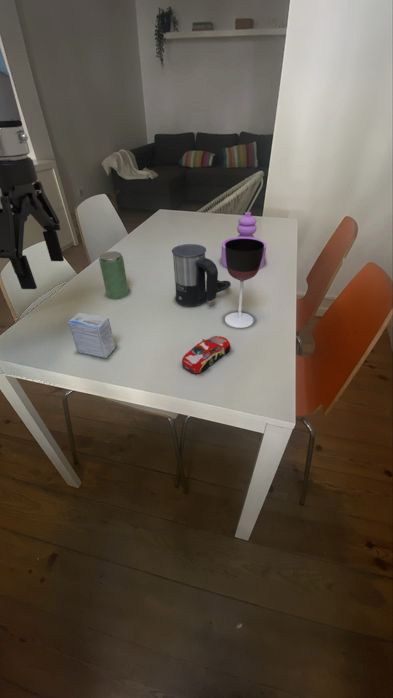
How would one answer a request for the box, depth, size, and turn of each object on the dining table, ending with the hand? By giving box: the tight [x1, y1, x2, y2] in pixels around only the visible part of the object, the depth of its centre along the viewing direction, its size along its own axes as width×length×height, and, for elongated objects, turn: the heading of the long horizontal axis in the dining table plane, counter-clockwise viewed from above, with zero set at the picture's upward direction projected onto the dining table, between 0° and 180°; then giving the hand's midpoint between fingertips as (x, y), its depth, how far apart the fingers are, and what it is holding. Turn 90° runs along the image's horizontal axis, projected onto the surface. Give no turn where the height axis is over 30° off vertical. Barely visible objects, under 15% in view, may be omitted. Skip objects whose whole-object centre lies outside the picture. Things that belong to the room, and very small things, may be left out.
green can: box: [98, 250, 130, 300], centre depth 93 cm, size 7×7×12 cm
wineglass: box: [224, 239, 264, 329], centre depth 78 cm, size 8×9×20 cm
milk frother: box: [171, 243, 232, 307], centre depth 90 cm, size 14×16×15 cm
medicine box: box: [67, 312, 116, 359], centre depth 72 cm, size 8×4×9 cm, turn 71°
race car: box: [181, 335, 231, 374], centre depth 70 cm, size 13×5×4 cm, turn 137°
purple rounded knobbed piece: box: [220, 211, 267, 269], centre depth 113 cm, size 25×15×13 cm, turn 169°
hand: (44, 273), depth 67 cm, fingers open, 13 cm apart
